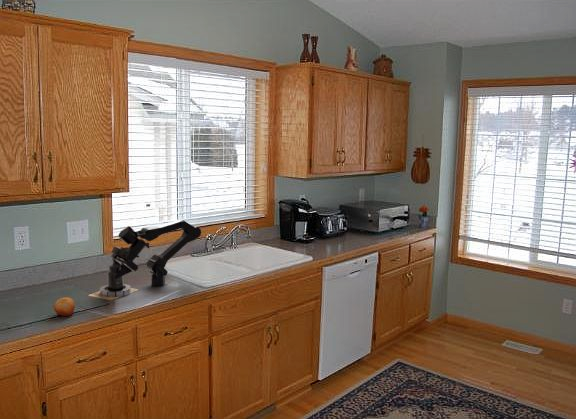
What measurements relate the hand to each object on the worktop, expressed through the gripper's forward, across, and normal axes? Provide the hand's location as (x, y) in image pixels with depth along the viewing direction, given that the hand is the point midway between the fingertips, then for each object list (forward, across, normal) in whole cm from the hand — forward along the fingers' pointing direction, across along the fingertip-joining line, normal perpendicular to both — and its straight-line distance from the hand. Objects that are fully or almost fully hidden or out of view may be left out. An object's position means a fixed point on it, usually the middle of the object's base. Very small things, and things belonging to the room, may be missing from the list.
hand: (112, 276), depth 237 cm
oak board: (+6, -1, +7) cm, 9 cm away
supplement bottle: (+4, 0, +6) cm, 7 cm away
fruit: (+24, +13, -12) cm, 30 cm away
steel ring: (+5, 0, +6) cm, 8 cm away
